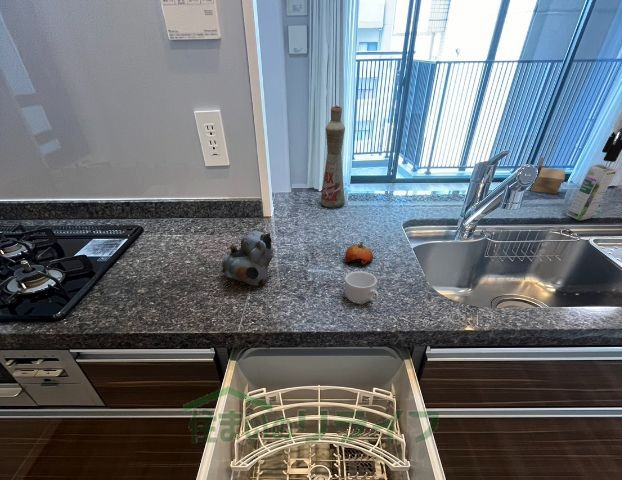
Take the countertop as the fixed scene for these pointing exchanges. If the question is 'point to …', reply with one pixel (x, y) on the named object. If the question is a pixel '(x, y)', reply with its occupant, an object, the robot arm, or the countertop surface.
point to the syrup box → (591, 192)
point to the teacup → (360, 287)
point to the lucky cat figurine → (250, 259)
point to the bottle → (334, 162)
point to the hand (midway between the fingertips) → (608, 156)
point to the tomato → (358, 253)
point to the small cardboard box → (548, 179)
